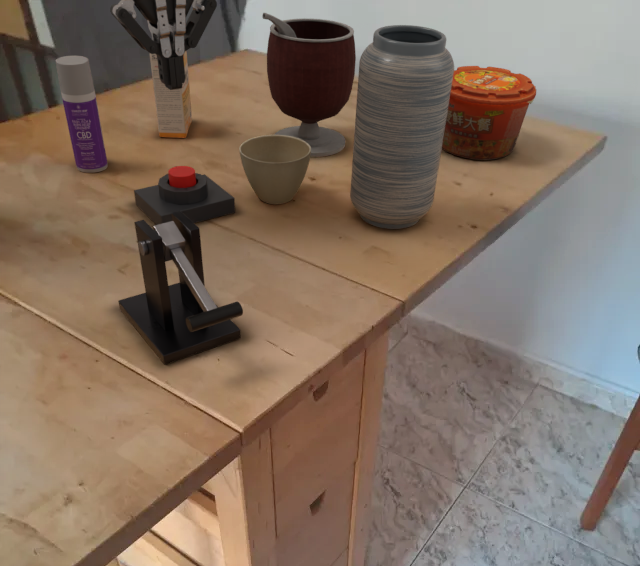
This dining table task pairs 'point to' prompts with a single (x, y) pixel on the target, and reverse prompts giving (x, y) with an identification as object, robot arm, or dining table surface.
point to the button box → (184, 200)
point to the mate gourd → (311, 76)
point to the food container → (486, 112)
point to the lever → (194, 281)
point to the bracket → (171, 298)
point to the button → (182, 177)
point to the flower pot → (275, 166)
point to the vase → (400, 124)
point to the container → (82, 113)
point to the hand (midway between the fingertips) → (173, 87)
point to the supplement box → (172, 104)
